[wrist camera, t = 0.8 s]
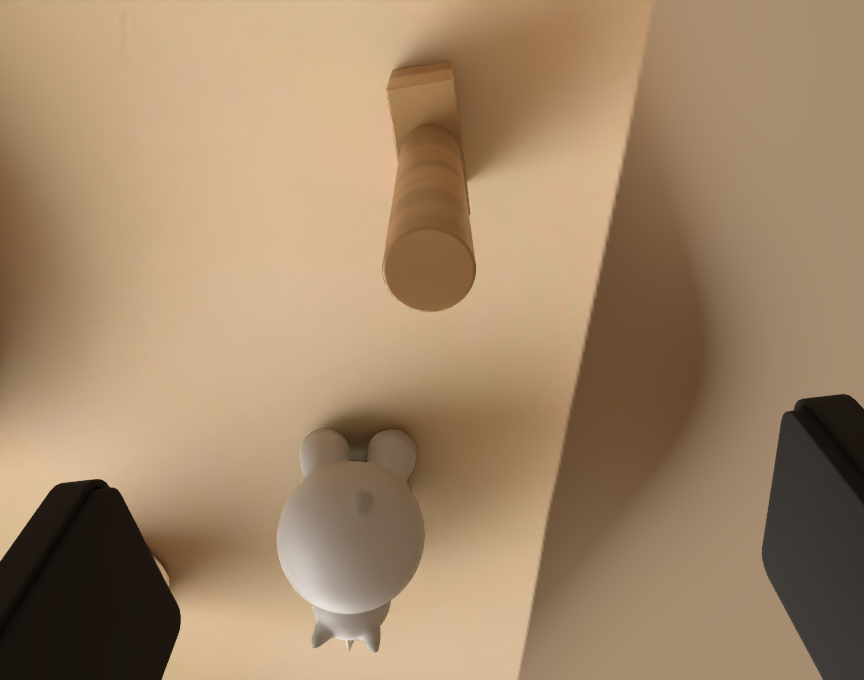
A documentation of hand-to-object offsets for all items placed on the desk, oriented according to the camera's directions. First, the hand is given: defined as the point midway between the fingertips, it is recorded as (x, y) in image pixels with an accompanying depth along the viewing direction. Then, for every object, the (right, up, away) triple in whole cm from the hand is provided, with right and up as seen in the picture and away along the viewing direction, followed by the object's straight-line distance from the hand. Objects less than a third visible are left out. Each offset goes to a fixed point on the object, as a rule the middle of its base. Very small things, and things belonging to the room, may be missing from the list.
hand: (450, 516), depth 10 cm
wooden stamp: (0, +11, +18) cm, 21 cm away
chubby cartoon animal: (-5, -6, +29) cm, 30 cm away
